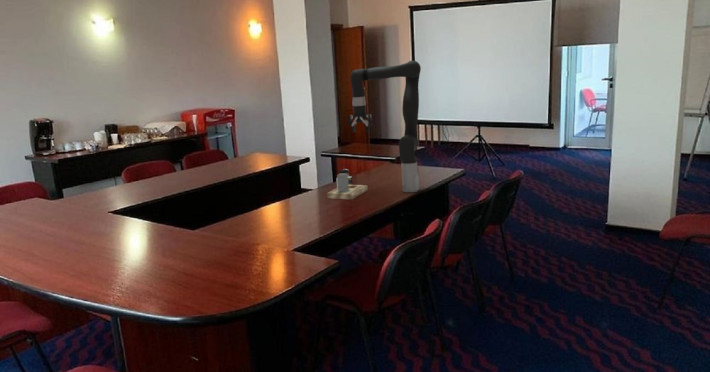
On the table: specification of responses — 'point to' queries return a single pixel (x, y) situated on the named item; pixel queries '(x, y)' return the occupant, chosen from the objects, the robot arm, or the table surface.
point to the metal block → (343, 182)
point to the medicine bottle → (348, 176)
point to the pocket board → (348, 192)
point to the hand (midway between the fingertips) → (361, 132)
